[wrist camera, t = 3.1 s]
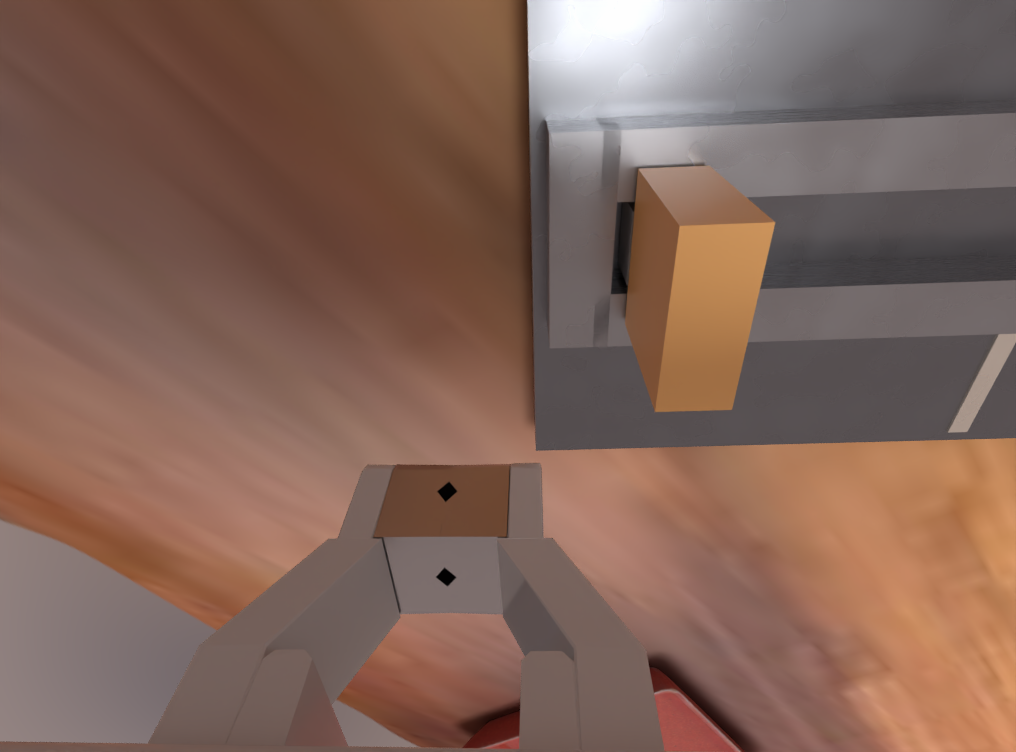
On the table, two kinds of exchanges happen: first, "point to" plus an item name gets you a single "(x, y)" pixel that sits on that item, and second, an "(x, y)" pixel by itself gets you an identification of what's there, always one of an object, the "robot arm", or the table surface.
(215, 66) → the table surface
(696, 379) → the block
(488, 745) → the plant saucer
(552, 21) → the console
